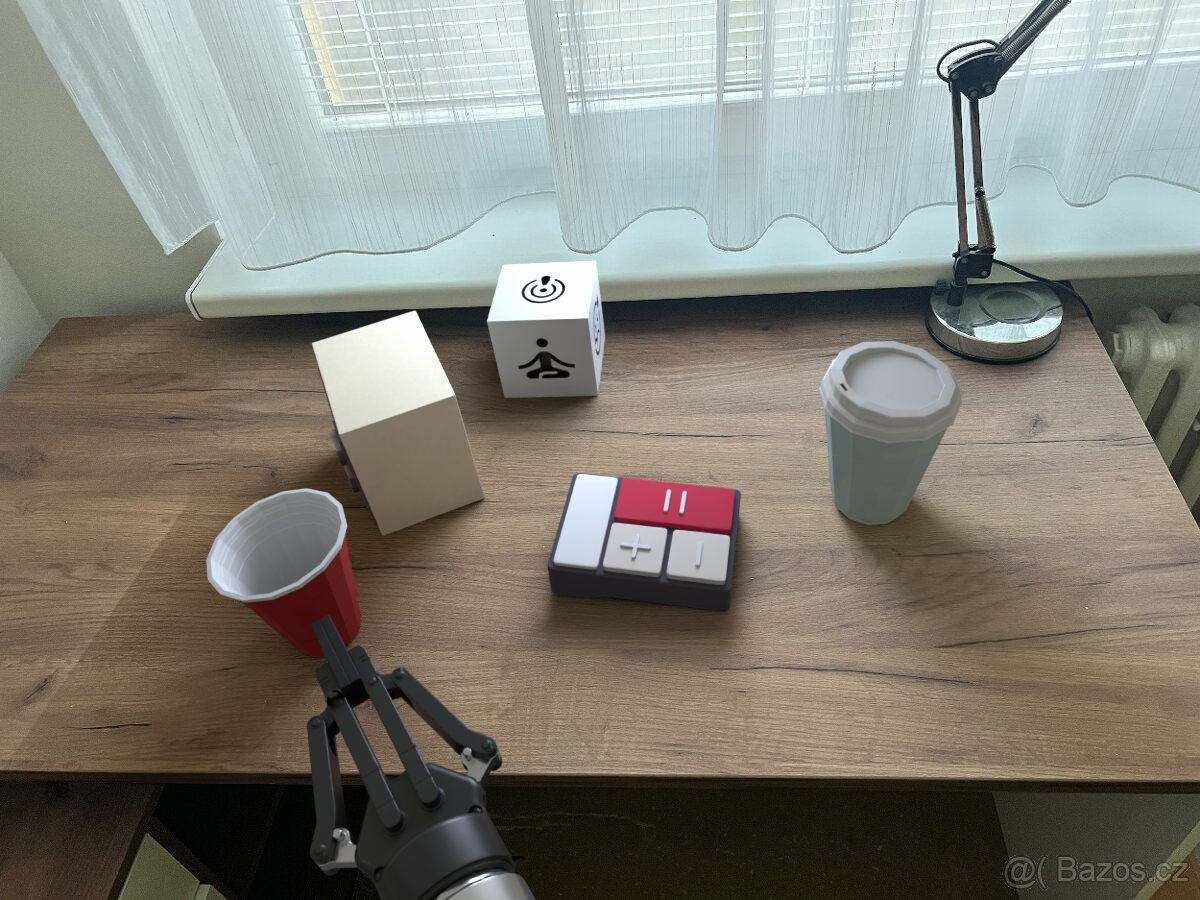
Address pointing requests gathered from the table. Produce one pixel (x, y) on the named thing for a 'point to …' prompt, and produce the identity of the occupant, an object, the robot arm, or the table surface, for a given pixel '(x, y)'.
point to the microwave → (397, 423)
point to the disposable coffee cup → (884, 425)
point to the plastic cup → (290, 566)
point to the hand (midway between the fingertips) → (325, 630)
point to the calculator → (646, 541)
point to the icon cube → (548, 329)
